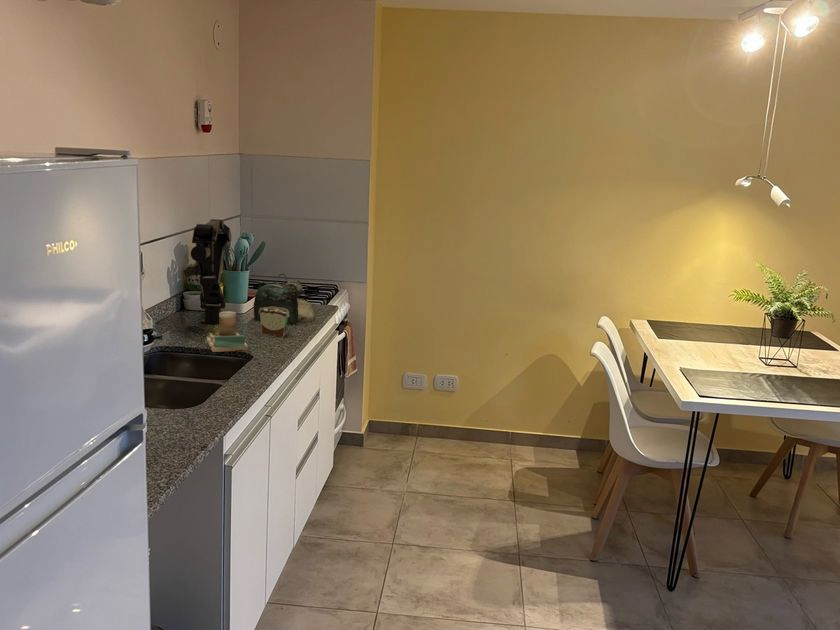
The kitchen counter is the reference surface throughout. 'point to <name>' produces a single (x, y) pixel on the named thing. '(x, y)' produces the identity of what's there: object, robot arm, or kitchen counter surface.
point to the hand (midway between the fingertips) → (205, 298)
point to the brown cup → (227, 323)
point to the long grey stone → (305, 311)
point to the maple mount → (227, 342)
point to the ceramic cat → (279, 298)
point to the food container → (273, 320)
